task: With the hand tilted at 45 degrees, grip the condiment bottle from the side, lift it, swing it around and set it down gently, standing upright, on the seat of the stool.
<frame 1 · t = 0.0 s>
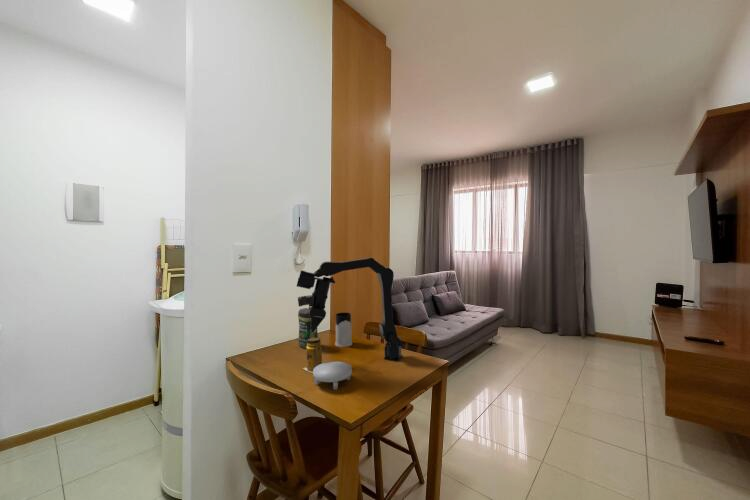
hand: (312, 328, 121), 15 cm above the table, tool pointing down, fingers open, 9 cm apart
condiment: (316, 368, 120), on the table
glass holder: (342, 342, 151), on the table
stool: (332, 381, 108), on the table
coffee jar: (308, 346, 146), on the table
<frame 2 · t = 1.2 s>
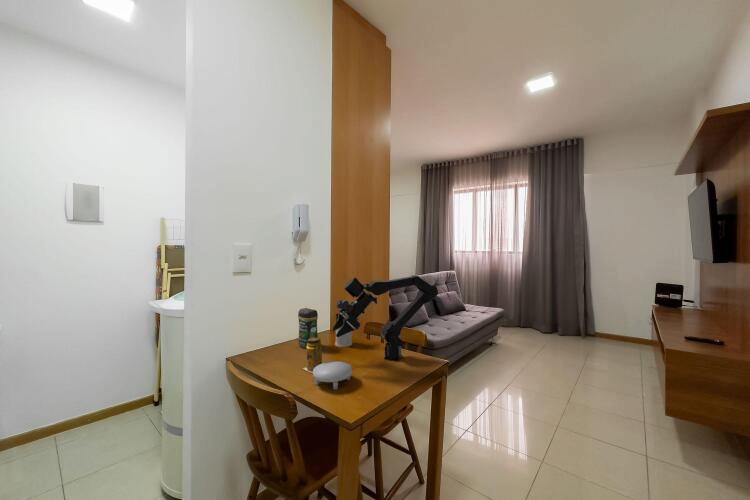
hand: (334, 333, 122), 13 cm above the table, tool tilted 45°, fingers open, 9 cm apart
nothing on the table moved.
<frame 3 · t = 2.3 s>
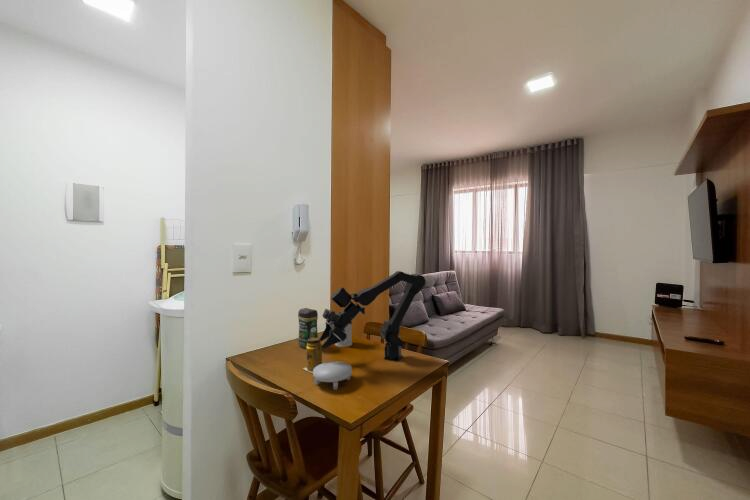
hand: (321, 344, 120), 9 cm above the table, tool tilted 45°, fingers open, 9 cm apart
nothing on the table moved.
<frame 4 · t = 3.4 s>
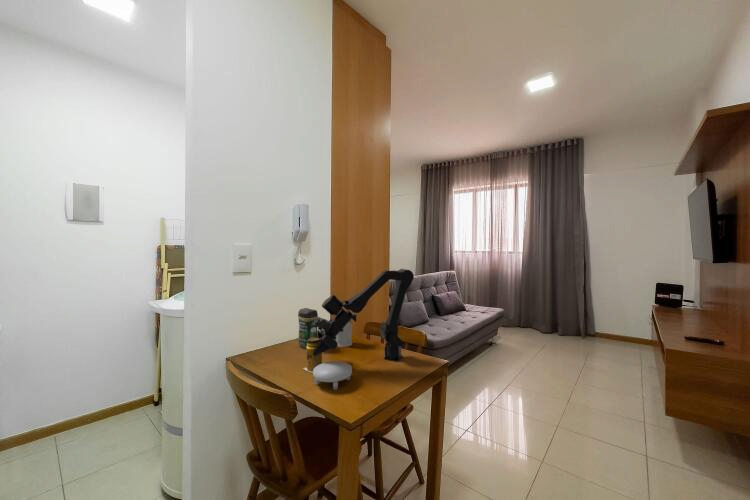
hand: (312, 352, 119), 7 cm above the table, tool tilted 45°, fingers open, 7 cm apart
condiment: (316, 368, 120), on the table, touching gripper
everything else where it was.
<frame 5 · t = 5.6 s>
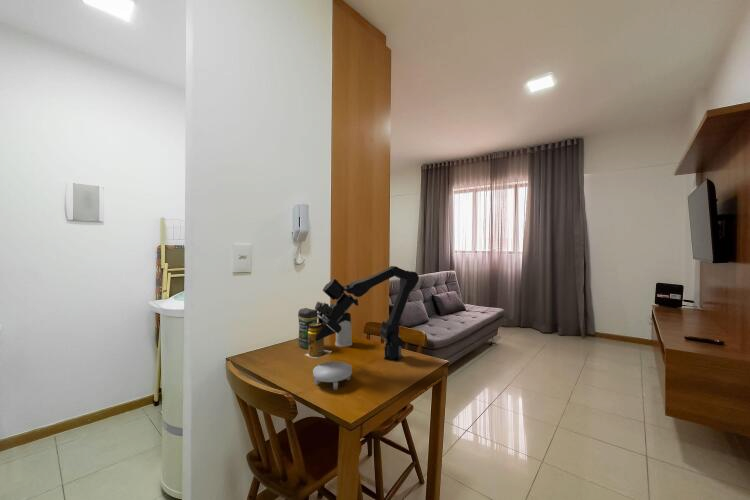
hand: (314, 337, 117), 13 cm above the table, tool tilted 45°, fingers closed on condiment, 6 cm apart
condiment: (318, 354, 118), point 6 cm above the table, touching gripper
everything else where it was.
when the fingers open (12 cm above the table, at t = 7.4 s): condiment drops 1 cm, resting on stool.
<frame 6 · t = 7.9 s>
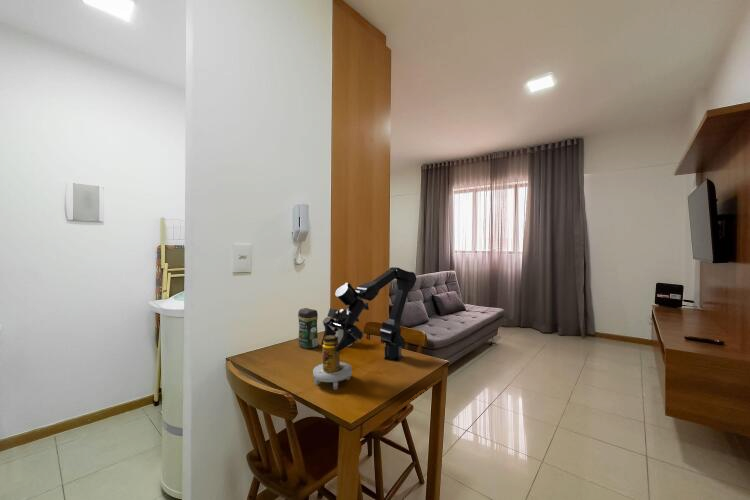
hand: (329, 348, 107), 13 cm above the table, tool tilted 45°, fingers open, 9 cm apart
condiment: (332, 369, 108), point 4 cm above the table, touching stool
everything else where it was.
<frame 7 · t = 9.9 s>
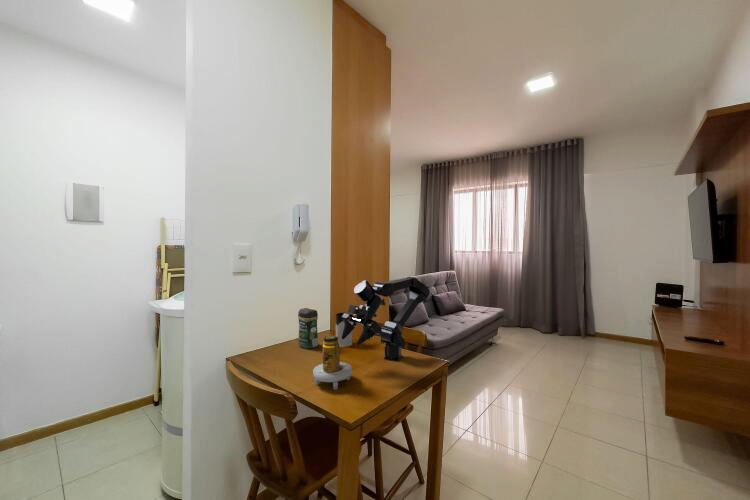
hand: (349, 341, 113), 13 cm above the table, tool tilted 45°, fingers open, 9 cm apart
nothing on the table moved.
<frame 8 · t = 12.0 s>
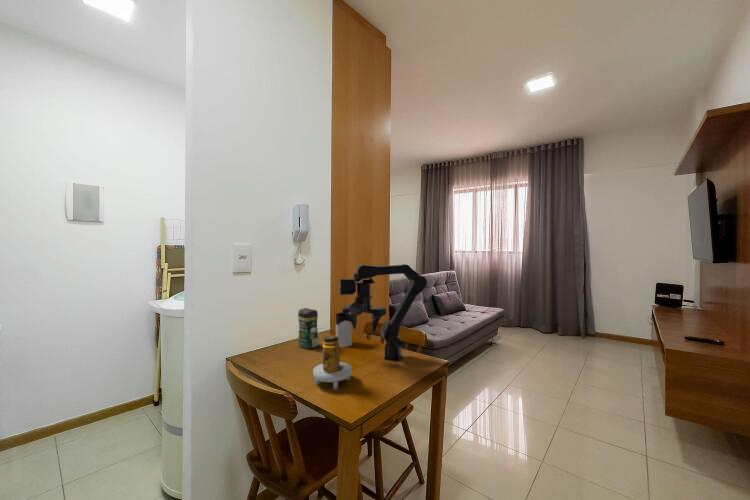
hand: (364, 330, 127), 13 cm above the table, tool pointing down, fingers open, 9 cm apart
nothing on the table moved.
at the end: condiment inside the target area on the stool (0.4 cm from its centre), point 4.3 cm above the stool's base; condiment tilted 0°; the gripper is holding nothing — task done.
